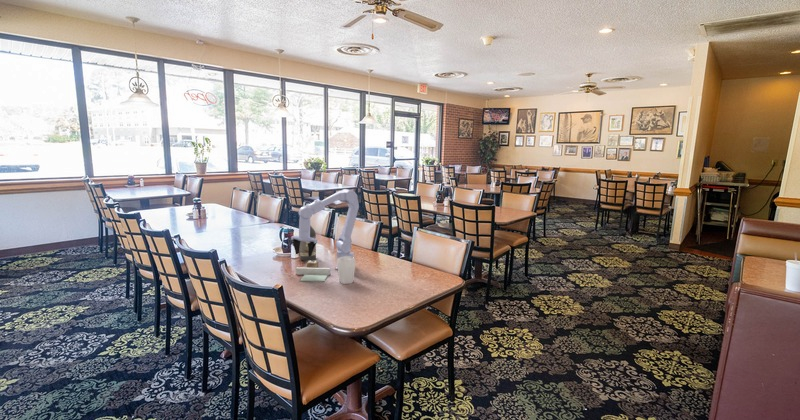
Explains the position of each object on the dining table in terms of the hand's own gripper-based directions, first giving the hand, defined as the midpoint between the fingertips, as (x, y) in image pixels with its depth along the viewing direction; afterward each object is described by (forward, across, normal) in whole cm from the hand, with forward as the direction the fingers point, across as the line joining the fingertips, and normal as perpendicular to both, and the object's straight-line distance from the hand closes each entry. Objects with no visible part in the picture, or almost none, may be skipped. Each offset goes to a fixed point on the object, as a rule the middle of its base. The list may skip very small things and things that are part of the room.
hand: (303, 254), depth 200 cm
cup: (+9, +27, -4) cm, 29 cm away
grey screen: (+10, +6, 0) cm, 12 cm away
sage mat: (+10, +10, -6) cm, 15 cm away
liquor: (+10, -12, +25) cm, 29 cm away
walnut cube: (+10, +3, +5) cm, 12 cm away
